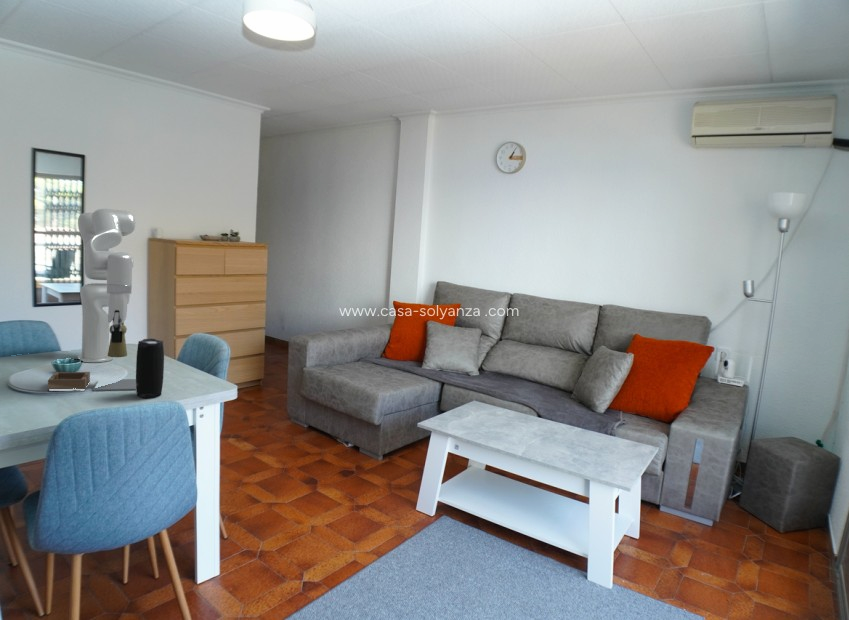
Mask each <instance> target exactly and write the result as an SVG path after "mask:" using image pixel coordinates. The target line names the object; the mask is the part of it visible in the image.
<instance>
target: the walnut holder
mask: <svg viewBox="0 0 849 620" xmlns="http://www.w3.org/2000/svg"><path fill="white" fill-rule="evenodd" d="M89 382H90V383H91V372H90V371H72V372H71V371H68V372H66V371H65V372H63V371H62V372H60V371H59V372H58V371H57V372H54V373H53V374H52V375H50V377H49V378H48V380H47V390H48V389H73V388H74V389H75V388H76V389H85V388H86V386H87V385H88V383H89ZM90 383H89V384H90ZM88 386H89V385H88ZM86 389H87V388H86Z"/></svg>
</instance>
